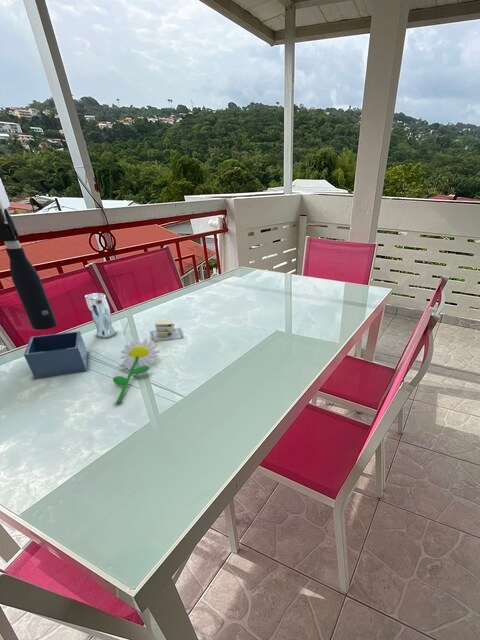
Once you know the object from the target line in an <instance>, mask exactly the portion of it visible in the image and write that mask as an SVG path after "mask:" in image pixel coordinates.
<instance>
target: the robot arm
mask: <svg viewBox="0 0 480 640" xmlns="http://www.w3.org/2000/svg"><path fill="white" fill-rule="evenodd" d="M10 206H11V204H10V200H9V197H8V194H7V191H6V189H5V186H4V184H3V181H2V179H1V177H0V241H1V242H4V241H15V240H17V239H18V238H19V237H20V235H19V233H18V230H17V228H16V224H15V223H14V221H13V223H14V226H15V228H16V230H13V231H12V228H11V225H10V224H8V222H7V219H6V216H5V215H9V216H11V213H10V211H9V208H10ZM1 215H2V216H1ZM11 217H12V216H11ZM13 232H14V233H13ZM14 234H15V236H14ZM15 237H16V238H15Z"/></svg>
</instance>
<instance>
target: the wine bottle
mask: <svg viewBox="0 0 480 640" xmlns="http://www.w3.org/2000/svg"><path fill="white" fill-rule="evenodd" d="M1 216H2V215H1ZM5 216H6V219H7V222H8V224H10V225H11V228H12V231H13V230H17V228H15V227H16V225H15V223H13V222H14V220H13V218H12V216H9V215H5ZM14 225H15V226H14ZM13 233H14V232H13ZM14 236H15V234H14ZM15 238H16V237H15ZM3 242H4V243H3V244H4V245H5V247H6V248H5V251H6V253H7V256H8V258H9V270H10V271H9V272H10V276H11V280H12V283H13V285H14V287H15V290H16V293H17V295H18V297H19V299H20V302H21V304H22V306H23V309H24V311H25V314H26V316H27V318H28V320H29V323H30V326H31V328H32V329H33V330H36V331H37V330H38V331H43V330H44V331H45V330H49V329H52V328H56V326H57V325H58V322H57V319H56V316H55V314H54V312H53V309H52V306H51V304H50V301H49V298H48V296H47V293H46V290H45V288H44V285H43V282H42V280H41V276H40V275H39V273H38V271H37V269H36V268H35V266H33V264H32V263H31V262H30V261H29V259H28V258H27V256H26V252H25V250H24V248H23V247H22V245H21V244H20V243H21V242H20V241H19V239H17V238H16V240H15V241H3Z"/></svg>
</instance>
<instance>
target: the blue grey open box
mask: <svg viewBox="0 0 480 640" xmlns="http://www.w3.org/2000/svg"><path fill="white" fill-rule="evenodd" d="M23 356H24V359H25V361H26V363H27V365H28V368H29V369H30V371H31V373H32V376H33V378H34V379H41V378H48V377H49V378H50V377H55V376H61V375H67V374H74V373H80V372H86V371H87V367H88V366H87V365H88V349H87V347H86V344H85V342H84V338H83V336H82V333H81V330H79V331H69V332H61V333H51V334H43V335H34V336H30V338H29V341H28V343H27V346H26V348H25V351H24V353H23Z"/></svg>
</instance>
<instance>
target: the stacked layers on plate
mask: <svg viewBox="0 0 480 640" xmlns="http://www.w3.org/2000/svg"><path fill="white" fill-rule="evenodd" d="M153 322H154V326H155V331H152V332H151V333H152V338H153V342H159V341H168V340H175V339H182V336H181V335H182V334H181V331H180V329H179V328H176V329H175V327H176V326H175V324H174V323H175V321H174V320H173V319H171V318H162V319H155V320H153Z"/></svg>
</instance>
